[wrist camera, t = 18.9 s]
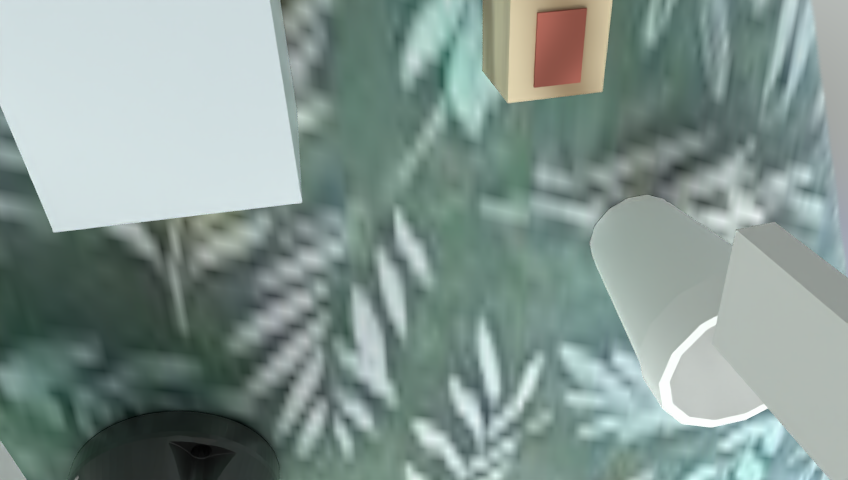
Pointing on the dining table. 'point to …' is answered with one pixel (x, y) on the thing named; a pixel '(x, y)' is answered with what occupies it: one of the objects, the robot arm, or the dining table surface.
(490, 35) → the tan block
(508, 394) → the dining table surface
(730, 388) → the foam cup
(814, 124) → the dining table surface
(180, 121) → the panel
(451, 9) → the dining table surface
